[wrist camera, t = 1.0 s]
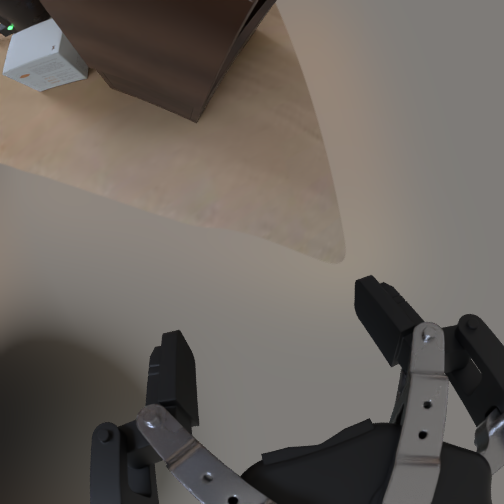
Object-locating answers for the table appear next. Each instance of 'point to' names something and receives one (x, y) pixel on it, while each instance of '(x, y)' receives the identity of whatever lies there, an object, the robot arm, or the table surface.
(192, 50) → the lid
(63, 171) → the table surface
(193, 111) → the chest
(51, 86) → the small box
